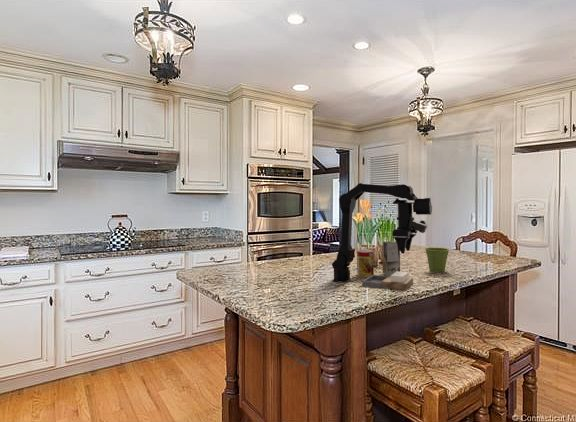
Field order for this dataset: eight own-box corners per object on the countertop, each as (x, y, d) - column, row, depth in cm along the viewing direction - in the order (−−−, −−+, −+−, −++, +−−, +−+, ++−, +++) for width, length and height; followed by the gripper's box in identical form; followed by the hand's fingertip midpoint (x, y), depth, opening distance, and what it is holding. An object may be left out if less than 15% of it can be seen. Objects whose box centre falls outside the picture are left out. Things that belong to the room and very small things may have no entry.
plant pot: (425, 272, 181) (425, 250, 181) (424, 268, 192) (423, 247, 192) (451, 273, 177) (451, 250, 177) (448, 269, 189) (448, 247, 188)
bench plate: (381, 287, 152) (381, 281, 152) (389, 281, 163) (389, 275, 163) (406, 289, 147) (406, 283, 147) (412, 283, 158) (412, 277, 158)
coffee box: (400, 276, 172) (400, 242, 172) (387, 277, 172) (386, 243, 172) (395, 273, 181) (395, 240, 181) (382, 273, 181) (382, 241, 181)
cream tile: (390, 281, 151) (390, 275, 151) (396, 277, 160) (396, 271, 160) (403, 282, 149) (403, 276, 149) (408, 278, 157) (408, 272, 157)
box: (362, 285, 155) (362, 281, 155) (372, 279, 168) (372, 274, 168) (381, 287, 151) (381, 282, 151) (390, 280, 164) (390, 276, 164)
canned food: (375, 276, 173) (375, 251, 173) (358, 277, 173) (358, 252, 173) (371, 273, 181) (371, 249, 181) (356, 273, 181) (355, 249, 181)
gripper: (420, 215, 139) (421, 256, 139) (429, 213, 155) (429, 250, 155) (391, 215, 145) (392, 254, 145) (402, 213, 161) (403, 249, 161)
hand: (405, 252), depth 151 cm, fingers open, 9 cm apart
